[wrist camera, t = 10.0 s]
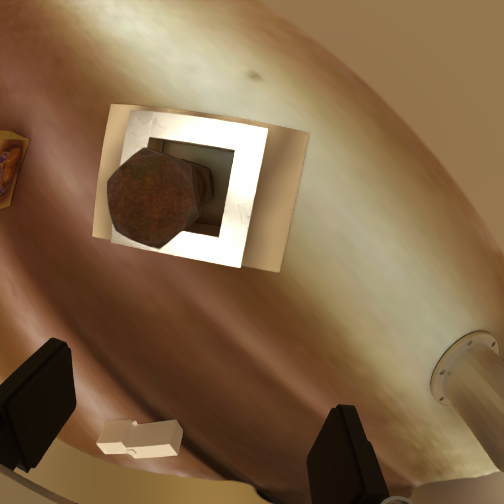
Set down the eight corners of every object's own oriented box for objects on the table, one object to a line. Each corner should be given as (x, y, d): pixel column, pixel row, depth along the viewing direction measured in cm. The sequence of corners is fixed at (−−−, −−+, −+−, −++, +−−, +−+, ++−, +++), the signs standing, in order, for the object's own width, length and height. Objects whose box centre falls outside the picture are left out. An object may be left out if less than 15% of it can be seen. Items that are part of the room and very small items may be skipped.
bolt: (166, 160, 31) (100, 156, 16) (216, 152, 30) (186, 137, 16) (175, 217, 32) (117, 256, 17) (224, 210, 32) (201, 245, 17)
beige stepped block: (199, 414, 39) (193, 444, 34) (181, 458, 42) (175, 485, 36) (95, 376, 38) (79, 401, 32) (91, 425, 40) (79, 449, 35)
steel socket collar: (265, 133, 29) (268, 128, 25) (241, 255, 32) (240, 267, 28) (144, 115, 28) (130, 109, 24) (126, 233, 31) (111, 242, 27)
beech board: (307, 134, 30) (309, 133, 29) (278, 269, 33) (279, 272, 32) (115, 105, 29) (111, 103, 28) (96, 234, 32) (92, 236, 31)
